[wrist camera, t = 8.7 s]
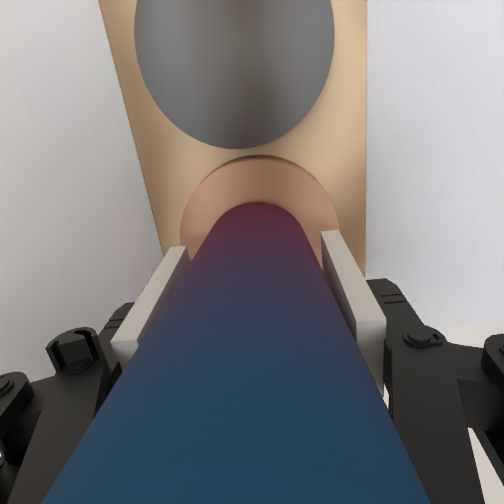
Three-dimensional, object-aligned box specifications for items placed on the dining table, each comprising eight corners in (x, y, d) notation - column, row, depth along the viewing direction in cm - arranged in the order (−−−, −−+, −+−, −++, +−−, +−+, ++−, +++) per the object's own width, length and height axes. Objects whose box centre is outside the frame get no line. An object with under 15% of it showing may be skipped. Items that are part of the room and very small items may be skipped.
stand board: (179, 295, 23) (167, 322, 20) (96, -38, 16) (61, -66, 13) (360, 279, 22) (374, 304, 19) (361, -86, 15) (382, -128, 12)
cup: (195, 307, 19) (9, 864, 5) (182, 183, 16) (-296, 683, 2) (321, 307, 19) (476, 899, 5) (330, 181, 16) (756, 742, 2)
